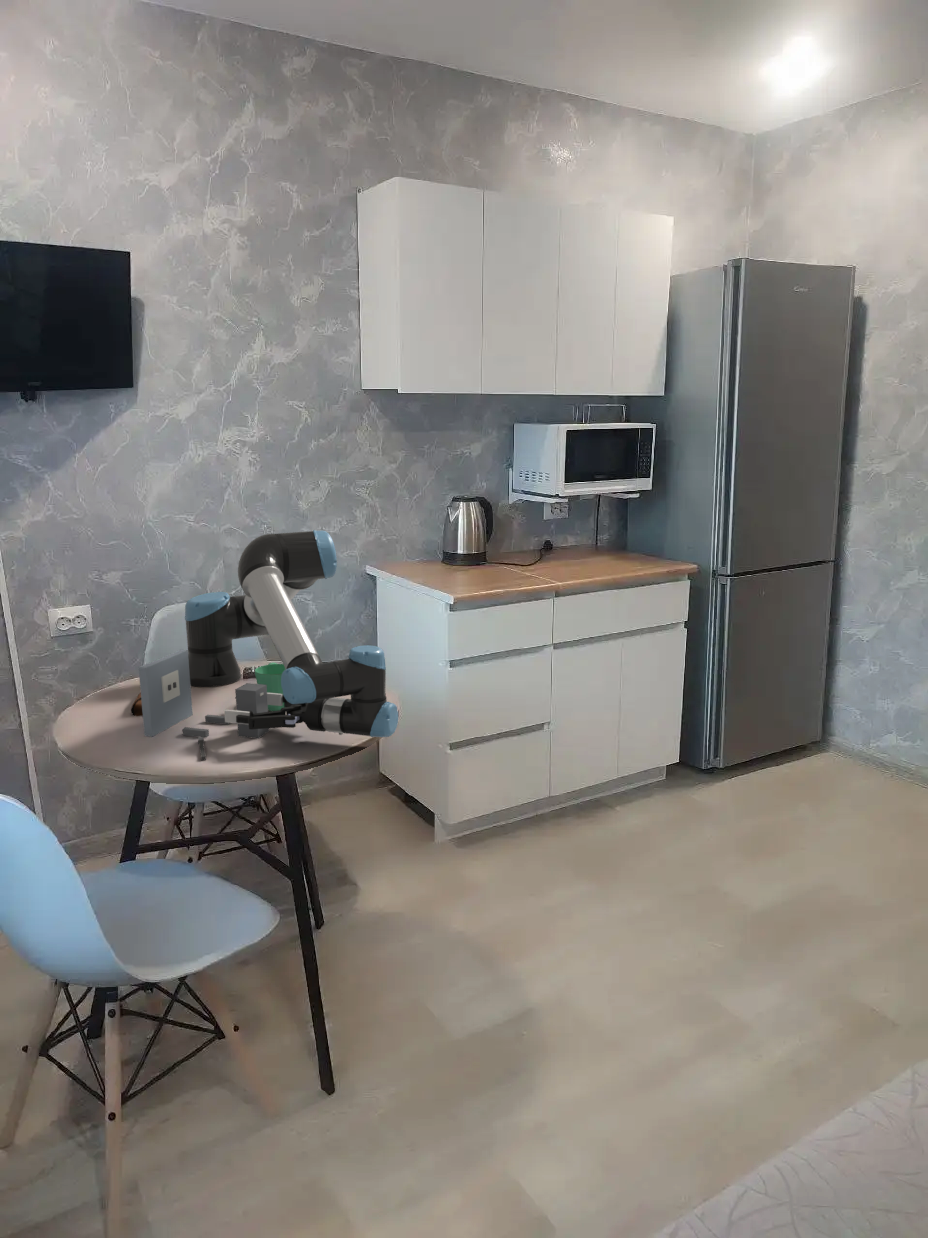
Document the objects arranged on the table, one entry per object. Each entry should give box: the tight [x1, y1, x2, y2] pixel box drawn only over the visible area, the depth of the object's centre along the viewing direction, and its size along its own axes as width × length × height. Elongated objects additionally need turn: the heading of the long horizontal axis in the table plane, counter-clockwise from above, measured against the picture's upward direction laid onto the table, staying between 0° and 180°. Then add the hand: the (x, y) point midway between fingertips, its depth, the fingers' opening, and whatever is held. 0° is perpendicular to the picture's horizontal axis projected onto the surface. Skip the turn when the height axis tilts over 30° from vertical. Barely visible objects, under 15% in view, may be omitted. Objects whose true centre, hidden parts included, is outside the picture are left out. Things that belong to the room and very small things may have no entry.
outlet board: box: [138, 649, 231, 738], centre depth 207 cm, size 16×14×16 cm
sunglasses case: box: [130, 691, 143, 717], centre depth 226 cm, size 18×7×7 cm
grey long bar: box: [197, 737, 207, 761], centre depth 194 cm, size 12×1×1 cm, turn 18°
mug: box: [254, 662, 286, 712], centre depth 224 cm, size 15×10×10 cm
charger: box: [234, 682, 270, 739], centre depth 204 cm, size 5×6×11 cm
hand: (241, 706), depth 204 cm, fingers open, 13 cm apart
